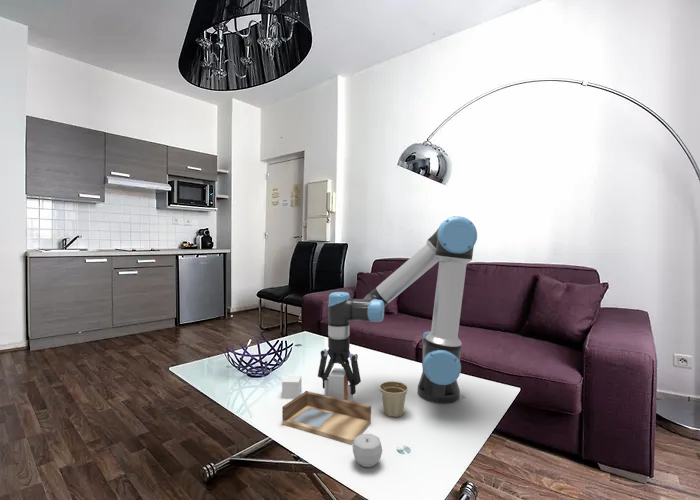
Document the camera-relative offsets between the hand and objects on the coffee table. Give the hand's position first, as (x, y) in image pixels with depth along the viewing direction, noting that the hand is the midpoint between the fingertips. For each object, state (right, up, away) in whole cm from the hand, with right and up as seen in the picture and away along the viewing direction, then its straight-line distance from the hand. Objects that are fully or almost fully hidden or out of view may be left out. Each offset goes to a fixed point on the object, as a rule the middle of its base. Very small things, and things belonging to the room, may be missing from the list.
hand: (338, 400), depth 123 cm
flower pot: (+18, -1, -8) cm, 20 cm away
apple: (+8, -1, -34) cm, 35 cm away
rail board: (-3, -1, -15) cm, 16 cm away
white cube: (-17, -1, +6) cm, 18 cm away
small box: (0, -1, 0) cm, 1 cm away
